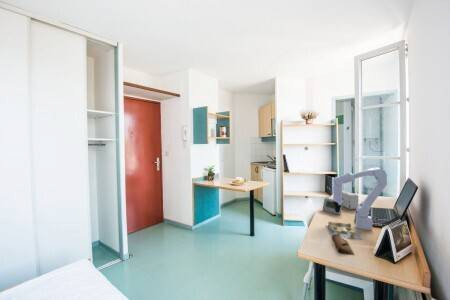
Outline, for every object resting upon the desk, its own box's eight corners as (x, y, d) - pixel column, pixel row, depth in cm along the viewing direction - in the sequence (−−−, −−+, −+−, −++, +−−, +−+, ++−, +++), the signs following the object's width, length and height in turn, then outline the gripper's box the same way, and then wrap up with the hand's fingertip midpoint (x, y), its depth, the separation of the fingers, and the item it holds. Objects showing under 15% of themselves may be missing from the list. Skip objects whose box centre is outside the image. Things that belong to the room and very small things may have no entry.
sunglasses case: (355, 255, 118) (349, 244, 119) (343, 260, 120) (336, 249, 120) (346, 240, 135) (340, 230, 136) (335, 244, 137) (330, 235, 138)
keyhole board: (352, 228, 153) (353, 223, 153) (363, 241, 134) (363, 235, 134) (324, 226, 157) (325, 221, 157) (331, 238, 139) (331, 232, 138)
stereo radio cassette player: (358, 209, 194) (359, 187, 193) (350, 210, 193) (350, 187, 192) (342, 202, 215) (343, 182, 214) (334, 203, 214) (335, 182, 213)
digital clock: (321, 210, 193) (321, 198, 193) (328, 208, 197) (329, 196, 196) (336, 216, 178) (337, 203, 178) (344, 214, 182) (345, 201, 181)
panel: (350, 227, 152) (350, 223, 152) (355, 234, 143) (355, 229, 143) (328, 226, 156) (328, 221, 155) (331, 231, 146) (331, 227, 146)
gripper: (329, 190, 167) (328, 208, 167) (334, 195, 153) (333, 215, 153) (339, 191, 165) (339, 209, 166) (345, 196, 151) (344, 215, 152)
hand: (337, 212), depth 159 cm, fingers closed
